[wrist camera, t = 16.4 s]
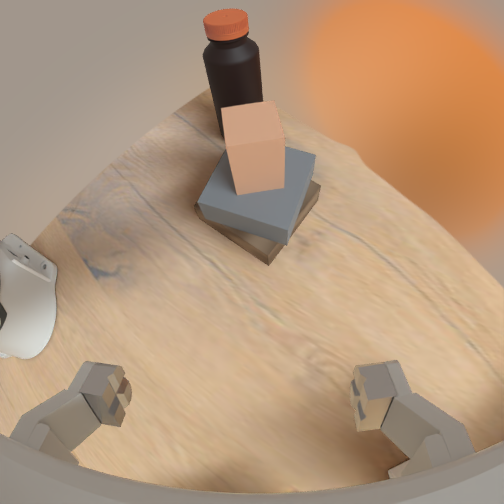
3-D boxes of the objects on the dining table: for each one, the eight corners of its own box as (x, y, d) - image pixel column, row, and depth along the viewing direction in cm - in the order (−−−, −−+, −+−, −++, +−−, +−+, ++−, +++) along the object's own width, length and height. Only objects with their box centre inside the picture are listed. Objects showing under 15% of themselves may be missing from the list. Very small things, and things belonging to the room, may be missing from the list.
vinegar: (267, 142, 44) (259, 24, 25) (221, 148, 44) (193, 33, 26) (262, 112, 46) (252, 2, 28) (220, 117, 47) (195, 10, 28)
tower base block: (200, 220, 41) (193, 205, 37) (251, 163, 43) (248, 146, 40) (268, 267, 38) (267, 255, 34) (317, 201, 40) (320, 185, 37)
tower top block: (205, 218, 36) (197, 201, 33) (238, 154, 39) (234, 134, 36) (286, 245, 34) (287, 230, 31) (312, 174, 37) (315, 155, 34)
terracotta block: (237, 195, 32) (225, 147, 25) (232, 158, 34) (221, 108, 27) (284, 187, 32) (285, 138, 25) (275, 151, 34) (274, 100, 27)
